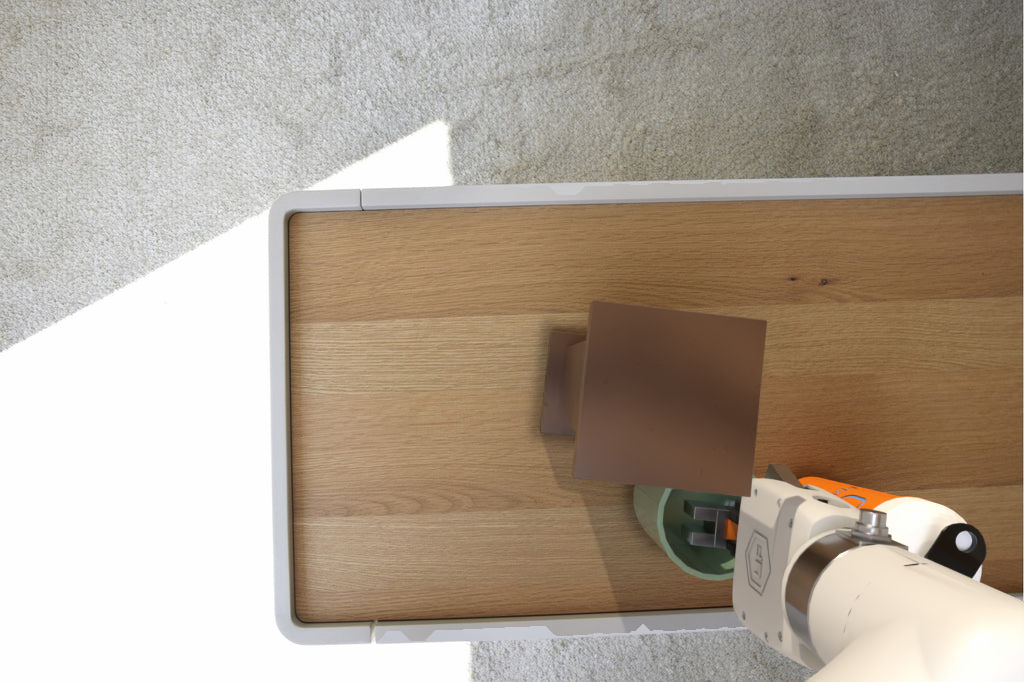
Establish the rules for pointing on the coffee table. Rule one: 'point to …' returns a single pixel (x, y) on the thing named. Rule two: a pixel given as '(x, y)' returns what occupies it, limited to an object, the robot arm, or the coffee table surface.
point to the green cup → (664, 524)
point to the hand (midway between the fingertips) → (737, 525)
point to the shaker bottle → (919, 526)
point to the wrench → (708, 524)
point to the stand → (658, 397)
